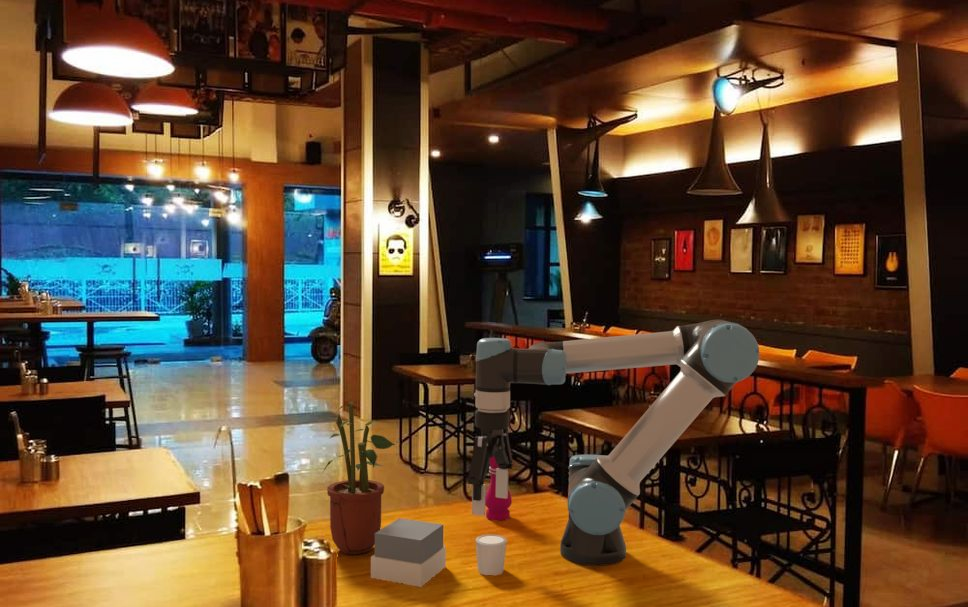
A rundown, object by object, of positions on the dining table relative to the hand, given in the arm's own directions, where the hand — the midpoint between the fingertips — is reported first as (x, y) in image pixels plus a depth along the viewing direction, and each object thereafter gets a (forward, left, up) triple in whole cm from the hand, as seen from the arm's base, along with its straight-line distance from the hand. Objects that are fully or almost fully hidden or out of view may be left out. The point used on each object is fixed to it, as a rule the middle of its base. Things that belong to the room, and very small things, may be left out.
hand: (490, 506), depth 174 cm
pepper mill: (+12, -35, -15) cm, 40 cm away
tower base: (+16, +8, -15) cm, 23 cm away
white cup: (0, 0, -15) cm, 15 cm away
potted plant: (+35, -1, -15) cm, 38 cm away
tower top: (+16, +8, -10) cm, 20 cm away
